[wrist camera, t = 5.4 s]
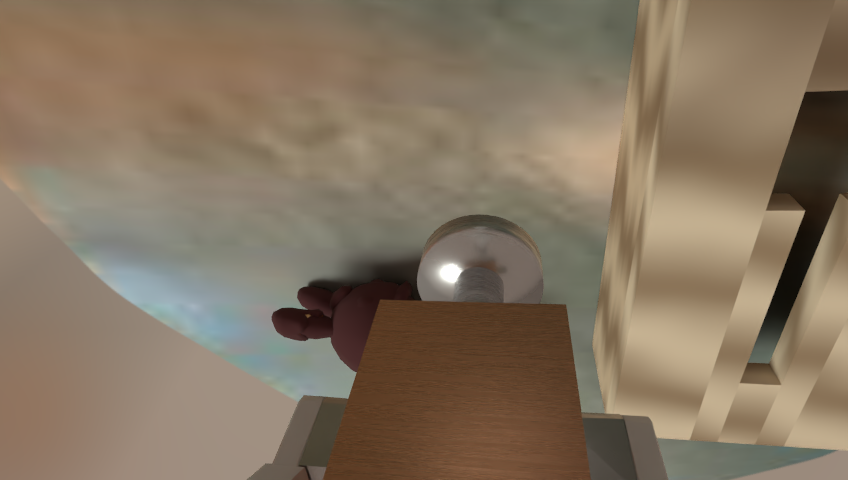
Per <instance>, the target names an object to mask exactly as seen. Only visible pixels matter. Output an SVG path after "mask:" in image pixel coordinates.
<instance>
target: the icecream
mask: <svg viewBox="0 0 848 480" xmlns="http://www.w3.org/2000/svg"><path fill="white" fill-rule="evenodd" d="M412 290H413V289H412V286H411V284H410V283H408V281H405V282H404V283H403V284H402V285H400V286H399V285H397V284H396V283H394V282H384V281H383V280H380V279H376V280H373V281H371V282H370V283H366V284H362V285H360V286H358V287H356V288H354V289H352V287H351V286H342V287H340V288H339V289H338V290H337V291H335V292H334V293H333V292H331V291H328V290H326V289H322V288H317V287H312V286H309V287H303V288H301V289H299V291H298V295H297V298H298V300H299V302H300V303H301V305H302V306H303V307H305V308H306V309H308V310H304V309H297V308H281V309H279V310H277V311H275V312H274V313H273V315H272V322H273V324H274V327H275V329H276V331H277V332H278V333H279V334H281V335H282V336H284V337H287V338H290V339H294V340H299V341H306V340H308V338H310V339H320V338H327V337H331V343H332V346H333V348H334V349H335V351H336V353H337V354H338V356H339V357H340V359H341V360H342V361H343V362H344V363H345V364H346V365H347V366H348V367H349V368H350V369H352V370H353V371H355V372H357V370H358V367H359V364H360V361H361V358H362V355H363V352H364V349H365V345H366V342H367V339H368V336H369V333H370V330H371V327H372V323H373V320H374V317H375V314H376V311H377V308H378V305H379V302H380V300H413V301H416V300H415V299H413V298H412V297H411V294H412ZM330 317H331V318H330Z"/></svg>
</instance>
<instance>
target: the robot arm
mask: <svg viewBox="0 0 848 480" xmlns="http://www.w3.org/2000/svg"><path fill="white" fill-rule="evenodd" d="M347 402H348V399H345V398H334V397H322V396H307V395H304V396H303V397H302V398H301V400H300V401H299V402H298V404H297V407H296V409H295V411H294V414H293V416H292V418H291V421H290V423H289V425H288V428H287V430H286V433H285V435H284V437H283V440H282V442H281V445H280V447H279V449H278V452H277V454H276V456H275V459H274V461H273V463H272V464H265V465H264V466H262V467H261V468H260V469H259V470H258V471H256V472H255V473H254V474H253V475H252V476H251V477H249V478H248V479H247V480H323V477H324V474H325V471H326V467H327V464H328V461H329V458H330V455H331V452H332V449H333V446H334V442H335V439H336V436H337V433H338V430H339V427H340V424H341V420H342V417H343V414H344V411H345V408H346V405H347ZM581 413H582V420H583V427H584V434H585V441H586V448H587V455H588V462H589V469H590V476H591V480H668V477H667V473H666V469H665V466H664V462H663V459H662V455H661V451H660V448H659V444H658V441H657V437H656V434H655V430H654V426H653V423H652V421H651V419H650V418H649V417H647V416H631V415H620V414H605V413H584V412H581Z"/></svg>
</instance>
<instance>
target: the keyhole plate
mask: <svg viewBox="0 0 848 480" xmlns="http://www.w3.org/2000/svg"><path fill="white" fill-rule="evenodd" d="M843 90H848V0H640V3H639V10H638V17H637V25H636V32H635V39H634V46H633V54H632V61H631V68H630V75H629V83H628V90H627V97H626V104H625V111H624V119H623V126H622V133H621V140H620V148H619V155H618V162H617V169H616V177H615V184H614V191H613V198H612V206H611V213H610V220H609V227H608V234H607V242H606V249H605V256H604V263H603V271H602V278H601V285H600V292H599V300H598V307H597V314H596V321H595V328H594V336H593V343H592V346H593V351H594V356H595V362H596V367H597V372H598V377H599V383H600V388H601V393H602V398H603V404H604V409H605V414H620V415H631V416H647V417H649V418H650V419H651V421H652V423H653V426H654V430H655V434H656V437H657V438H667V439H682V440H697V441H712V442H727V443H742V444H757V445H772V446H787V447H802V448H817V449H832V450H848V193H840V194H839V196H838V199H837V201H836V204H835V206H834V209H833V211H832V213H831V216H830V218H829V221H828V223H827V225H826V228H825V230H824V233H823V235H822V237H821V240H820V242H819V245H818V247H817V250H816V252H815V254H814V257H813V259H812V262H811V264H810V266H809V269H808V271H807V274H806V276H805V278H804V281H803V283H802V286H801V288H800V291H799V293H798V295H797V298H796V300H795V303H794V305H793V307H792V310H791V312H790V315H789V317H788V319H787V322H786V324H785V327H784V329H783V332H782V334H781V336H780V339H779V341H778V344H777V346H776V348H775V351H774V353H773V356H772V358H771V360H770V363H769V364H765V363H748V360H749V357H750V355H751V352H752V350H753V347H754V344H755V342H756V339H757V336H758V334H759V331H760V329H761V326H762V323H763V321H764V318H765V315H766V313H767V310H768V308H769V305H770V302H771V300H772V297H773V294H774V292H775V289H776V287H777V284H778V281H779V279H780V276H781V273H782V271H783V268H784V266H785V263H786V260H787V258H788V255H789V252H790V250H791V247H792V245H793V242H794V239H795V237H796V234H797V231H798V229H799V226H800V224H801V221H802V218H803V216H804V213H805V210H804V209H803V208H802V207H801V206H800V205H799V204H798V202H797V201H796V200H795V199H794V198H793V197H792V196H791V195H790V194H789V193H785V194H771V193H772V190H773V187H774V184H775V181H776V178H777V175H778V172H779V169H780V166H781V163H782V160H783V157H784V154H785V151H786V148H787V145H788V142H789V139H790V136H791V133H792V130H793V127H794V124H795V121H796V118H797V115H798V112H799V109H800V106H801V103H802V100H803V97H804V93H805V92H815V91H843Z"/></svg>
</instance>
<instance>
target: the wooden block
mask: <svg viewBox="0 0 848 480" xmlns="http://www.w3.org/2000/svg"><path fill="white" fill-rule="evenodd" d="M417 287H418V292H419V295H420V297H421V299H422V301H413V300H380V302H379V305H378V308H377V311H376V314H375V317H374V320H373V323H372V327H371V330H370V333H369V336H368V339H367V342H366V345H365V349H364V352H363V355H362V358H361V361H360V364H359V367H358V370H357V374H356V377H355V380H354V383H353V386H352V389H351V392H350V395H349V399H348V402H347V405H346V408H345V411H344V414H343V417H342V420H341V424H340V427H339V430H338V433H337V436H336V439H335V442H334V446H333V449H332V452H331V455H330V458H329V461H328V464H327V467H326V471H325V474H324V477H323V480H591V476H590V469H589V462H588V455H587V448H586V441H585V434H584V427H583V420H582V413H581V406H580V399H579V392H578V385H577V378H576V371H575V364H574V357H573V350H572V343H571V336H570V329H569V322H568V315H567V308H566V305H561V304H539V303H540V301H541V298H542V295H543V272H542V261H541V256H540V252H539V249H538V247H537V245H536V243H535V242H534V240H533V239H532V238H531V236H530V235H529V234H528V233H527V232H526V231H525V230H523V229H522V228H521V227H519V226H518V225H516V224H514V223H512V222H510V221H508V220H506V219H503V218H499V217H496V216H490V215H469V216H463V217H460V218H456V219H454V220H451V221H449V222H447V223H445V224H444V225H442V226H441V227H439V228H438V229H437V230H436V231H435V232H434V233H433V234H432V235H431V236H430V238H429V239H428V241H427V242H426V244H425V247H424V250H423V253H422V257H421V261H420V266H419V270H418V275H417Z"/></svg>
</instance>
